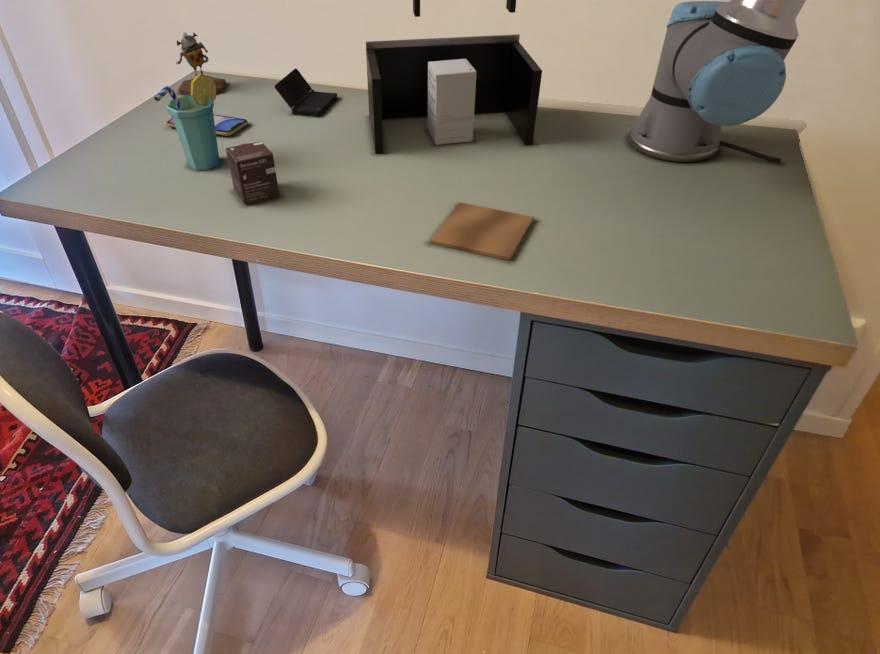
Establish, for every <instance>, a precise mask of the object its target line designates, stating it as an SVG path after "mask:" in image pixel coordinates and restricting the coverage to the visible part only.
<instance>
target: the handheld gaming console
mask: <svg viewBox="0 0 880 654" xmlns="http://www.w3.org/2000/svg"><path fill="white" fill-rule="evenodd" d="M274 89H275V90H276V92H277V93H278V95H280V97H281V98H282V99H283V100H284V102H285V104H287V106H288V107H289V109H291V114H292V115H298V116H309V117H318V118H319V117H320V116H322V114H324V112H325V111H326V110H328V108H329V107H330V106H331V105H332V104H333V103H335V101H336V100H337V99H338V93H337V92H328V91H327V92H326V91H315V90H314V89H313V87H311V86H310V84H309V83H308V81H307V80H306V78H305V77H304V76H303V75H302V73H301V72H300V70H299V69H298V68H294V69H293V70H291V71H290V72H289V73H287V75H285V76H284V77H283V78H282V79H280V81H278V82H277V83H275V85H274Z"/></svg>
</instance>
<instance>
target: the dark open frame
mask: <svg viewBox="0 0 880 654" xmlns="http://www.w3.org/2000/svg"><path fill="white" fill-rule="evenodd" d="M520 37H521V34H519V33H517V34H514V33H513V34H495V35H473V36H472V35H471V36H456V37H455V36H453V37H436V38H435V37H434V38H432V37H431V38H413V39H392V40H391V39H390V40H389V39H388V40H370V41H365V59H366V61H365V62H366V76H367V78H366V81H367V98H368V99H367V100H368V117H369V124H370V129H371V134H372V140H373V141H372V142H373V148H374V154H375V155H381V154H382V155H383V154H385V153H384V126H383V125H384V124H383V120H390V119H391V120H392V119H408V118H409V119H410V118H424V117H425V118H426V117H427V118H428V62H433V61H445V60H457V59H467V61H468V62H469V63H470V64H471V65H472V67H473V68H474V69H475V71H476V72H477V74H476V92H475V109H474V115H481V114H498V113H500V114H501V113H505V114H506V116H507V117H508V120H509V121H510V122H511V124H512V126H513V128H514V130H515V131H516V133H517V134H518V136H519V138H520V140H521V141H522V144H523V145H524V146H533V145H534V137H535V131H536V122H537V115H538V108H539V99H540V98H539V97H540V91H541V85H542V76H543V75H542V74H543V69H542V68H541V67H540V66H539V65H538V63H537V62H536V61H535V60H534V59H533V57H532V56H531V55H530V54H529V52H528V51H527V50H526V49H525V47H524V46H523V45H522V44H521V42H520Z"/></svg>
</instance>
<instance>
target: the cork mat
mask: <svg viewBox="0 0 880 654" xmlns="http://www.w3.org/2000/svg"><path fill="white" fill-rule="evenodd" d="M534 219H535V217H534V216H530V215H525V214H520V213H515V212H511V211H506V210H505V211H504V210H499V209H495V208H491V207H490V208H489V207H484V206H480V205H474V204H470V203H465V202H460V201H459V202H458V203H457V205H455V207H454V209H453V210H452V211H451V213H450V214H449V215H448V216H447V218H446V219H445V220H444V222H443V223H442V224H441V226H440V227H439V228H438V229H437V231H436V232H435V234H433V236H432V237H431V238H430V244H433V245H438V246H441V247H446V248H451V249H455V250H459V251H465V252H468V253H473V254H477V255H481V256H485V257H486V256H487V257H491V258H495V259H500V260H505V261H509V262H511V261H512V259H513V257H514V256H515V254H516V252H517V251H518V248H519V247H520V245H521V243H522V241H523V240H524V238H525V236H526V234H527V233H528V231H529V229H530V227H531V226H532V224H533V222H534Z"/></svg>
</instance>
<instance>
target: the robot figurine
mask: <svg viewBox="0 0 880 654" xmlns="http://www.w3.org/2000/svg"><path fill="white" fill-rule="evenodd" d="M181 37H182V38H181V40H180V41H179V40H178V39H177V40H176V46H177V47H179V46H180V45H181V48H180V50H181V52H179V56H180V57H179V60H177V61H176V62H175V64H176V65H180V64H181V63H182V61H183V58H184V59H185V60H186V62H187V64H188V65H189V66H190V67H191V68H192V69H193V71H194V73H195V74H194V76H195V77H196V76H197V75H198V73H197V70H198V67H199V68H200V69H199V70H200V73H199V74H201V75H204V71H203V70H202V68H203V65H204V64H206V63H208V61H209V59H210V58H209V57H208V56H207V55H206V54H208V52H209V50H208V49H207V48H206V47H205V45H204V44H203V43H202V42H201V41H199V42H197V39H196V37H198V35H197V34H196V33H195V32H194V31H193V32H192V35H190V34H187V32H186V31H182V32H181ZM203 51H204V52H205V53H206V54H204V53H203ZM211 78H212V80H213V81H214V83H215V84H216V95H217V94H221V93H223V91H224V89H225V87H226V85H227V81H226V79H224V78H220V77H213V76H211ZM193 80H194V78H191V79H190V78H189V79H187V80H183V81H182V83H181V85H180V86H179V88H178V93H179V95H183V96H191V82H192V81H193Z"/></svg>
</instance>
